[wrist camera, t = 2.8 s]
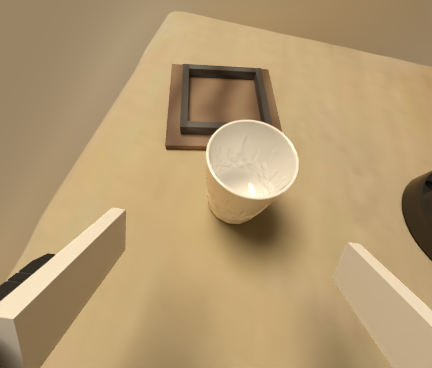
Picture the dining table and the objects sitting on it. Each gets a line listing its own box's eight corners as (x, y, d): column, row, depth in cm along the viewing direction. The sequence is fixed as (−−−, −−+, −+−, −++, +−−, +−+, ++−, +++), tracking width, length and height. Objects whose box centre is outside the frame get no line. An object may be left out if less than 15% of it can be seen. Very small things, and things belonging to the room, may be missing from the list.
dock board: (266, 73, 37) (270, 61, 35) (283, 150, 30) (289, 141, 28) (172, 68, 35) (171, 55, 33) (166, 148, 28) (163, 138, 26)
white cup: (262, 174, 28) (293, 123, 19) (265, 231, 24) (305, 203, 15) (205, 169, 27) (209, 115, 18) (200, 226, 24) (202, 194, 15)
